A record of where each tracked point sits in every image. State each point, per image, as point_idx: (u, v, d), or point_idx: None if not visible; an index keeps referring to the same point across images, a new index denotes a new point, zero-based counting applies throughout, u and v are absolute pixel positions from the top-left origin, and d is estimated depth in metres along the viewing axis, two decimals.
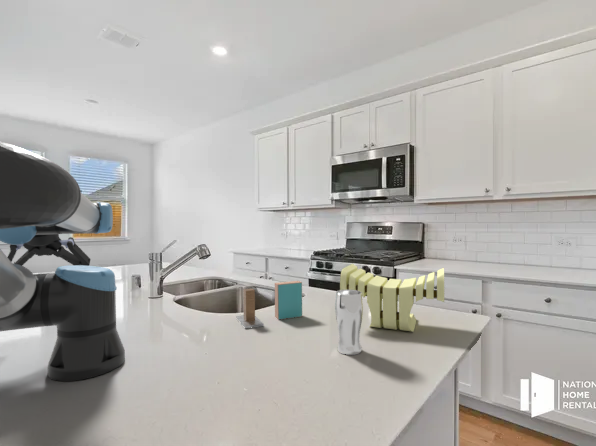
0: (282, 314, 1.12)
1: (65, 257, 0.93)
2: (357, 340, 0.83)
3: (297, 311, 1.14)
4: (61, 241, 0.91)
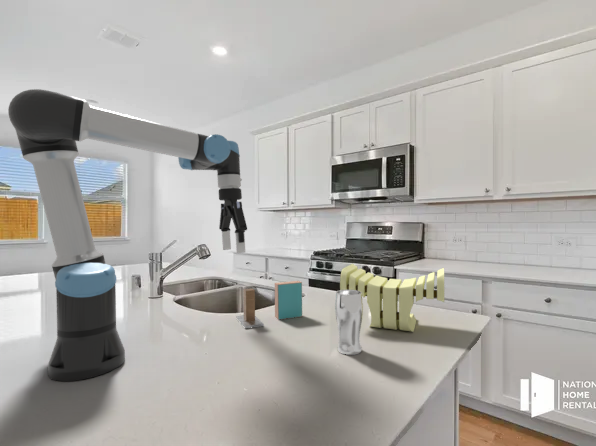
0: (282, 314, 1.12)
1: (233, 218, 1.07)
2: (357, 340, 0.83)
3: (297, 311, 1.14)
4: None
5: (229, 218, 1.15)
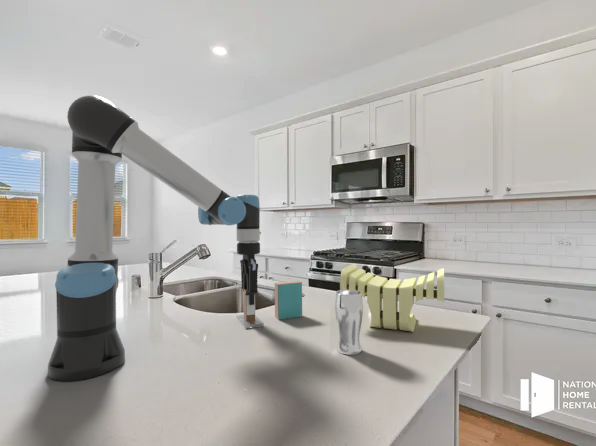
0: (282, 314, 1.12)
1: (247, 277, 1.07)
2: (357, 340, 0.83)
3: (297, 311, 1.14)
4: (252, 261, 1.05)
5: None
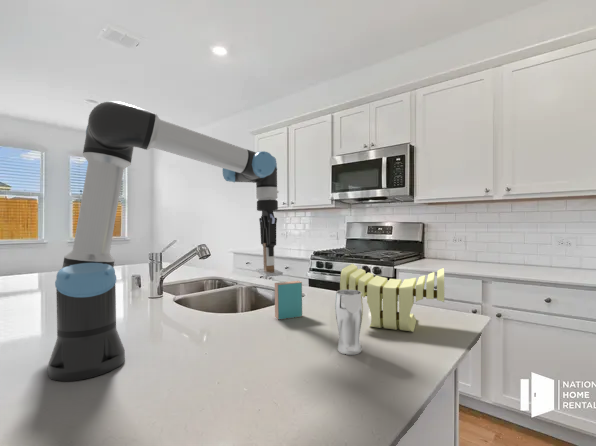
0: (282, 314, 1.12)
1: (266, 231, 1.17)
2: (357, 340, 0.83)
3: (297, 311, 1.14)
4: (271, 216, 1.15)
5: None
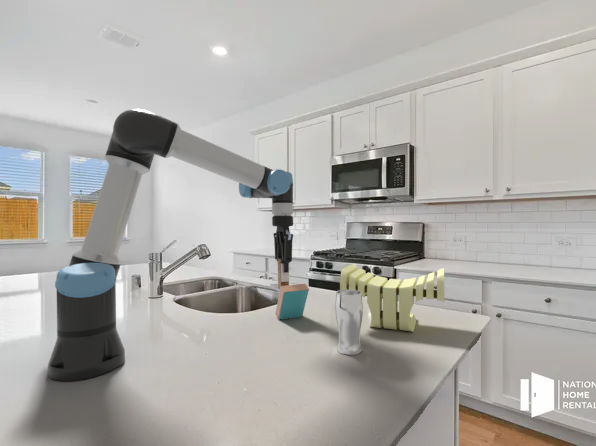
0: (282, 316, 1.11)
1: (282, 247, 1.16)
2: (357, 340, 0.83)
3: (298, 313, 1.13)
4: (287, 232, 1.15)
5: None
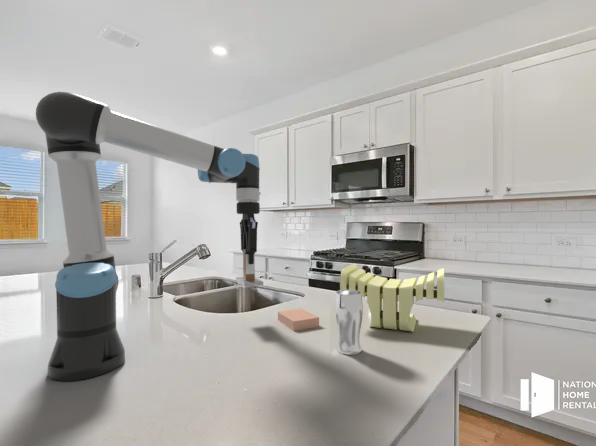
0: None
1: (246, 236, 1.07)
2: (357, 340, 0.83)
3: None
4: (251, 219, 1.05)
5: None
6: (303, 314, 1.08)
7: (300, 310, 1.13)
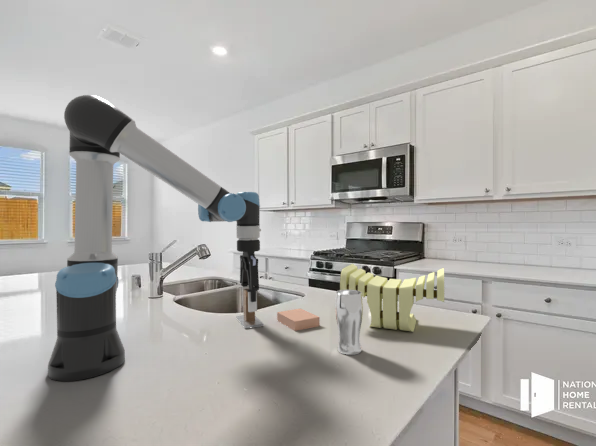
0: None
1: (247, 274, 1.06)
2: (357, 340, 0.83)
3: None
4: (252, 257, 1.05)
5: None
6: (303, 314, 1.08)
7: (299, 310, 1.13)
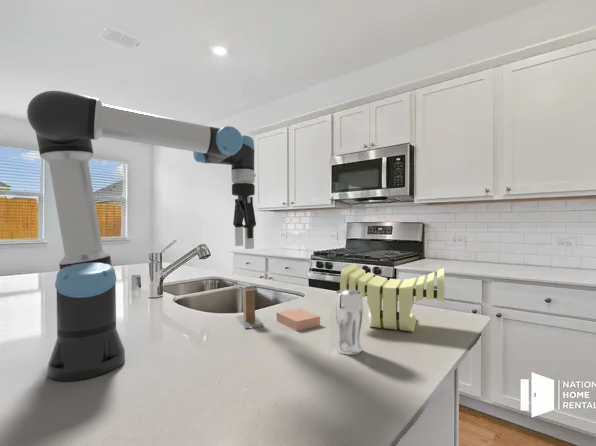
0: None
1: (243, 213, 1.06)
2: (357, 340, 0.83)
3: None
4: None
5: (242, 214, 1.14)
6: (303, 314, 1.08)
7: (298, 310, 1.13)
